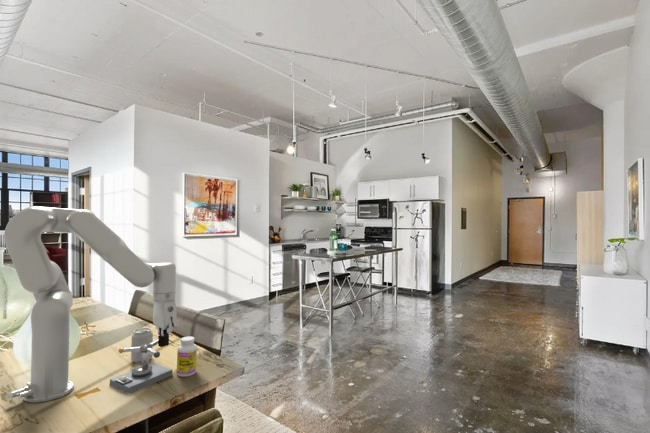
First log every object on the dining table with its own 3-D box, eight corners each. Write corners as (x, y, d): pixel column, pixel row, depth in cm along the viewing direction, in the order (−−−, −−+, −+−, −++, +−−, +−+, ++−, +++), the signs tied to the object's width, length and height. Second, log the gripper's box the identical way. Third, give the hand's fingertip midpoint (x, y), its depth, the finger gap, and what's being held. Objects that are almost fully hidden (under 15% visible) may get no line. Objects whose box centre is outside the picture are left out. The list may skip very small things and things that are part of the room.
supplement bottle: (175, 378, 123) (176, 342, 123) (178, 370, 130) (178, 336, 130) (195, 376, 125) (196, 340, 125) (196, 368, 131) (197, 334, 131)
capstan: (163, 361, 132) (164, 336, 132) (159, 380, 116) (159, 352, 116) (122, 365, 127) (123, 339, 127) (112, 386, 112) (113, 357, 112)
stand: (128, 394, 112) (128, 382, 112) (109, 385, 117) (109, 373, 117) (172, 375, 126) (172, 364, 126) (153, 367, 131) (153, 357, 131)
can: (143, 364, 134) (144, 333, 134) (126, 362, 135) (127, 331, 135) (156, 357, 141) (157, 327, 141) (140, 355, 142) (141, 326, 142)
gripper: (184, 297, 126) (183, 348, 126) (164, 291, 136) (164, 338, 136) (163, 301, 121) (162, 354, 121) (145, 294, 130) (144, 343, 130)
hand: (163, 345), depth 128 cm, fingers closed
